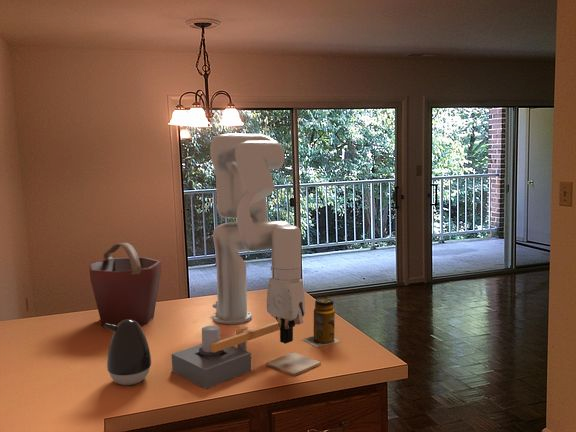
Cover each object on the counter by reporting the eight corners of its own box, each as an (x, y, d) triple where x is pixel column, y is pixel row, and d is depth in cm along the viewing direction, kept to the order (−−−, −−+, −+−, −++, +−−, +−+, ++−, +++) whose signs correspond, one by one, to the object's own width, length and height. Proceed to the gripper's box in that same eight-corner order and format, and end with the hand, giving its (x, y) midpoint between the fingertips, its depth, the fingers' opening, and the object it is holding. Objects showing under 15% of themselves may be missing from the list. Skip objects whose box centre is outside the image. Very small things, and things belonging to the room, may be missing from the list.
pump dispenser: (112, 372, 132) (109, 313, 130) (155, 370, 133) (152, 312, 131) (102, 391, 122) (98, 327, 120) (147, 389, 123) (145, 325, 121)
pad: (265, 364, 137) (265, 362, 136) (292, 354, 144) (292, 351, 144) (293, 376, 130) (293, 374, 130) (320, 364, 137) (320, 362, 137)
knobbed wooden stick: (201, 347, 132) (200, 339, 131) (275, 322, 150) (275, 315, 150) (213, 352, 128) (213, 344, 128) (289, 326, 146) (288, 319, 146)
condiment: (340, 341, 153) (341, 301, 151) (317, 347, 148) (317, 306, 147) (325, 334, 159) (325, 295, 157) (302, 339, 154) (302, 299, 153)
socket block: (172, 371, 133) (171, 347, 132) (232, 350, 147) (231, 328, 146) (206, 388, 123) (205, 362, 122) (267, 364, 137) (266, 340, 136)
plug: (194, 371, 133) (193, 328, 131) (213, 364, 137) (212, 323, 136) (209, 378, 129) (208, 334, 127) (228, 371, 133) (227, 328, 132)
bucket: (91, 312, 180) (87, 240, 177) (157, 305, 189) (154, 236, 185) (93, 336, 158) (89, 253, 155) (168, 326, 166) (166, 248, 163)
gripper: (255, 271, 139) (256, 338, 142) (297, 281, 129) (297, 353, 131) (276, 266, 144) (276, 331, 147) (317, 275, 134) (317, 345, 137)
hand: (286, 341), depth 139 cm, fingers closed
